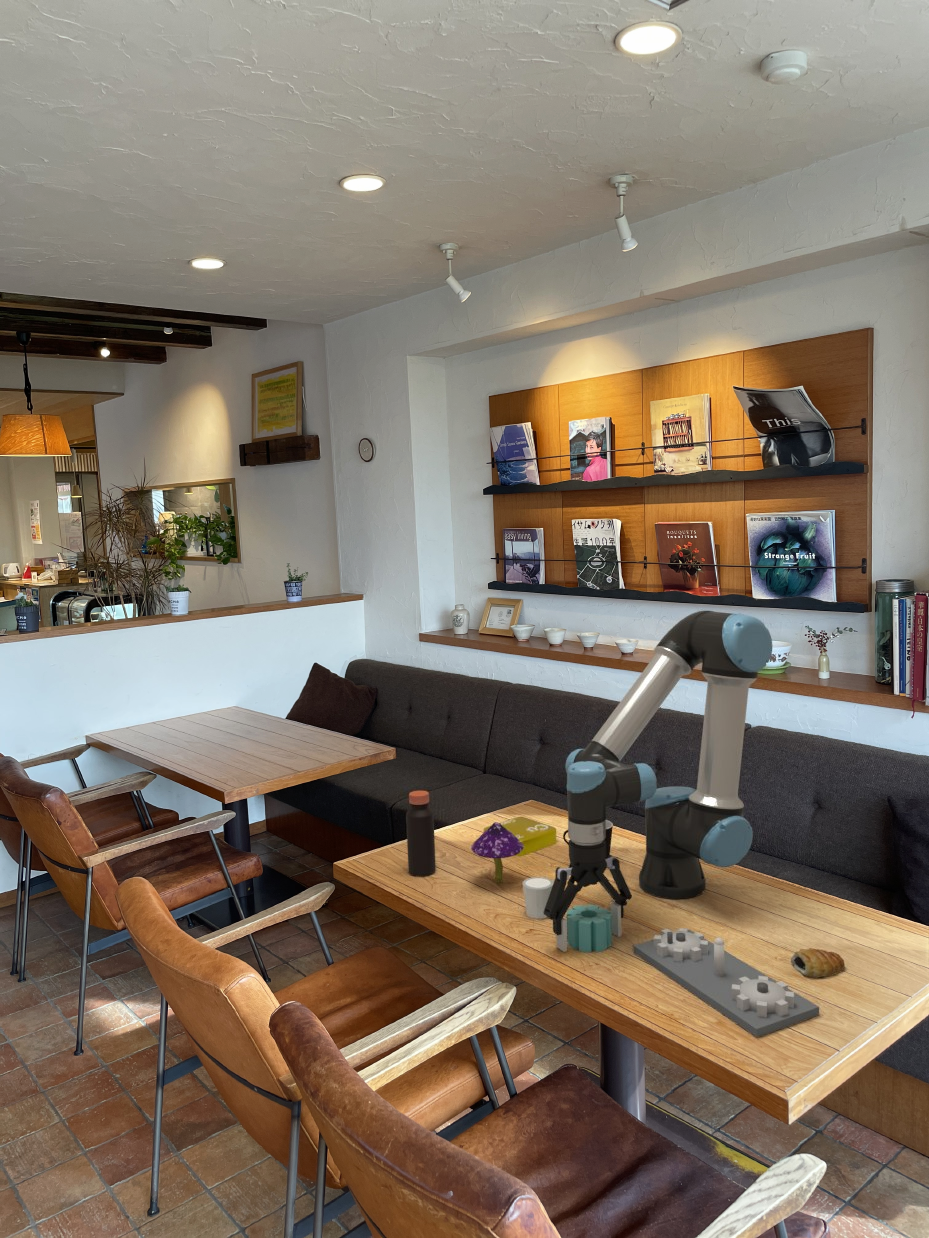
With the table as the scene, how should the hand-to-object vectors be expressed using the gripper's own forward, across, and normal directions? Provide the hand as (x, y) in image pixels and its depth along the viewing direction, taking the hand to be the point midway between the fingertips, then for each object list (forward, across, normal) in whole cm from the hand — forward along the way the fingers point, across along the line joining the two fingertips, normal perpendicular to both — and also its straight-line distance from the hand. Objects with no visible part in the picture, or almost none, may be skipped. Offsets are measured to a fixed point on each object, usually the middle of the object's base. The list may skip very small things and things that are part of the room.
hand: (589, 941), depth 185 cm
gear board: (0, +12, -25) cm, 28 cm away
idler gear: (0, 0, 0) cm, 0 cm away
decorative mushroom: (0, -2, +36) cm, 36 cm away
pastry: (+1, +31, -30) cm, 43 cm away
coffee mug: (0, +24, +36) cm, 43 cm away
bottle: (0, -15, +52) cm, 54 cm away
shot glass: (0, -2, +17) cm, 17 cm away
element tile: (+1, +16, +57) cm, 60 cm away
